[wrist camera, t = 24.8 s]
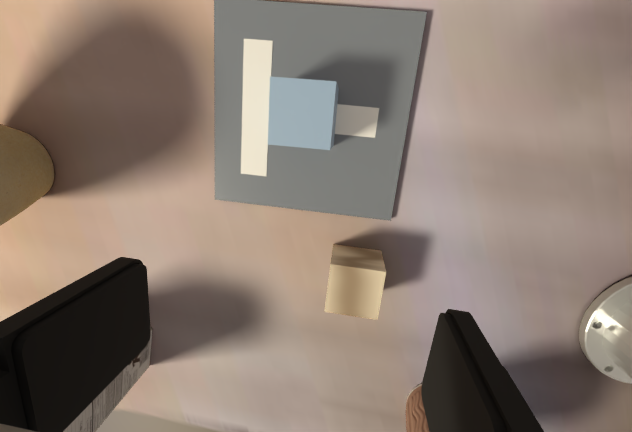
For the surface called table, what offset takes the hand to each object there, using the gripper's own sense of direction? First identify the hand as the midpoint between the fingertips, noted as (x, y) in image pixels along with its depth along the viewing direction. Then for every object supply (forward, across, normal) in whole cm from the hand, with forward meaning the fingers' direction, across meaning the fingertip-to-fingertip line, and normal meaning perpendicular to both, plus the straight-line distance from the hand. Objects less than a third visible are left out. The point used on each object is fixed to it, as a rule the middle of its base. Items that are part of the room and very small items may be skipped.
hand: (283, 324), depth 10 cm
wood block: (+22, -3, +8) cm, 24 cm away
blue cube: (+21, +3, -7) cm, 23 cm away
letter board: (+22, +3, -7) cm, 23 cm away
